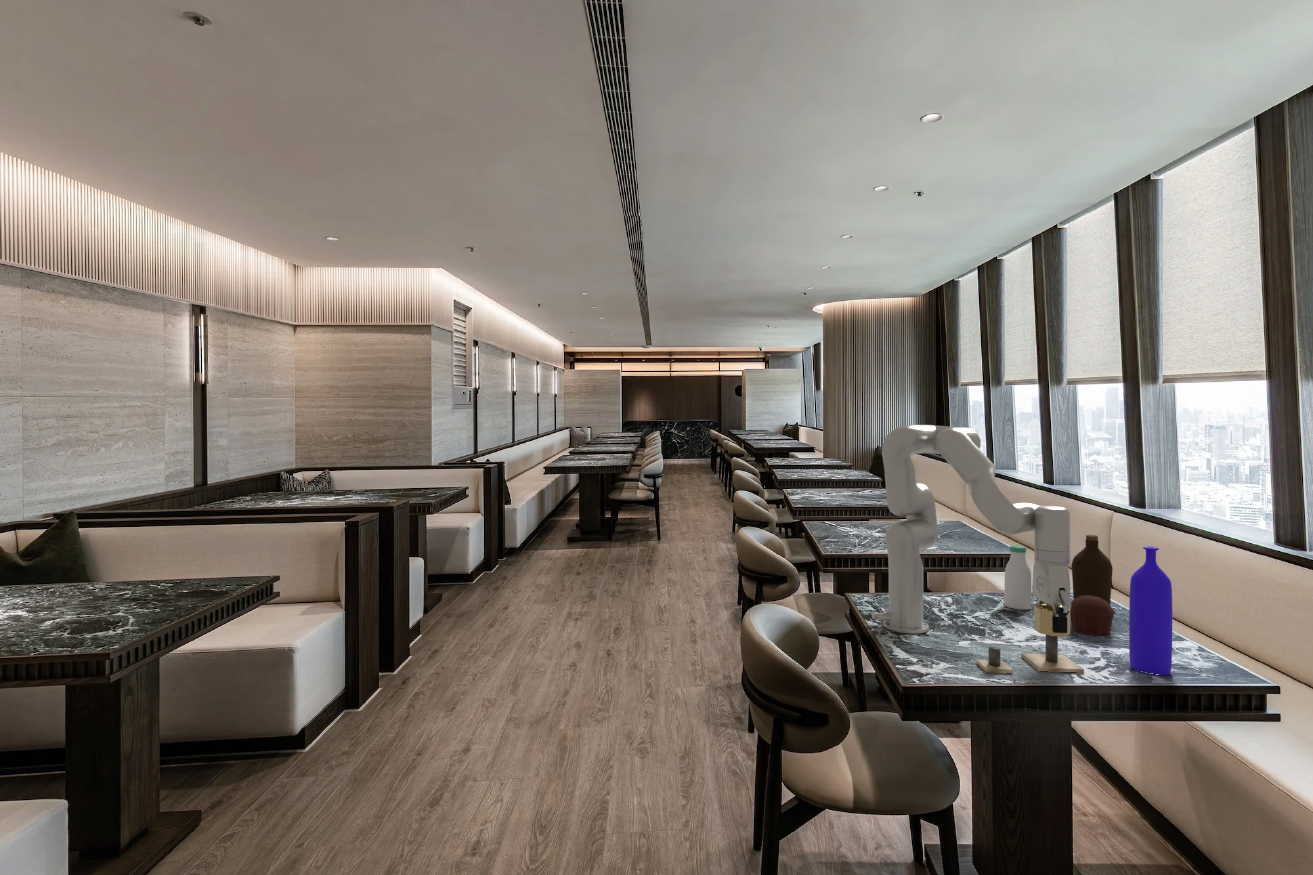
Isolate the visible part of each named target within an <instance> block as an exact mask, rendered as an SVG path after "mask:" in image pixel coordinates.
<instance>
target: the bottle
mask: <svg viewBox="0 0 1313 875" xmlns="http://www.w3.org/2000/svg"><path fill="white" fill-rule="evenodd" d="M1142 548H1143V550H1145V561H1144V563H1143V565H1142V566H1140V567H1139V568H1138V569H1137V570H1136V571H1134V572H1133V574H1132V575H1131V577H1130V584H1129V604H1128V605H1129V607H1128V608H1129V610H1128V612H1129V613H1128V615H1129V617H1128V618H1129V621H1128V623H1129V625H1128V626H1129V627H1128V630H1129V631H1128V639H1129V640H1128V646H1129V647H1128V648H1129V650H1128V651H1129V664H1130V665H1129V666H1130V667H1131V669H1132V668H1133V670H1134V669H1136V670H1138V671H1143V672H1147V673H1153V674H1159V675H1167V676H1169V675H1170V674H1171V672H1172V662H1173V661H1172V660H1173V588H1172V581H1171V579H1170V578H1169V577H1168V575H1167V574H1166V573H1165V572H1164V570H1162V568H1160V566H1159V565H1158V563H1157V551H1159V550H1160V548H1159V547H1157V546H1153V545H1151V546H1150V545H1145V546H1143V547H1142ZM1136 670H1135V671H1136ZM1138 671H1137V672H1138ZM1168 674H1169V675H1168Z"/></svg>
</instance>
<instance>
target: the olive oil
mask: <svg viewBox="0 0 1313 875" xmlns="http://www.w3.org/2000/svg"><path fill="white" fill-rule="evenodd" d="M1084 541H1085V547H1084V548H1083V549H1082V550H1080V551H1079V552H1078V553H1077V554H1076V555H1074V557H1073V558H1072V561H1071V576H1072V577H1071V578H1072V596H1073V597H1072V601H1073V600H1074V599H1075V598H1077V597H1080V596H1084V595H1091V596H1096V597H1099V598H1101V599H1103V600H1105V601H1106V602H1107V603H1109V605H1110V606H1111V598H1112V597H1111V596H1112V580H1113V569H1114V568H1113V564H1112V562H1111V560H1110V558H1109V557H1108V556H1107V555H1106V554H1105V553H1104V552H1103V551H1101V549H1100V548H1099V536H1098V535H1093V534H1086V535H1085V540H1084Z"/></svg>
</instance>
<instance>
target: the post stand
mask: <svg viewBox="0 0 1313 875" xmlns="http://www.w3.org/2000/svg"><path fill="white" fill-rule="evenodd" d="M1058 640H1059V636H1050V635H1046V634H1045V653H1026V652H1021V655H1020V656H1021V659H1023V660H1025V661H1026V662H1027V663H1028V664H1029V665H1031V666H1032V667H1033V668H1034V669H1035V670H1037V671H1038V672H1039V671H1048V672H1047V673H1059V672H1077V673H1076V674H1085V668H1083V667H1081V666H1080V665H1079V664H1078V663H1075V662H1074V661H1073V660H1071V659H1070V658H1068V657H1067V656H1066V655H1064V654H1058V653H1059V641H1058Z"/></svg>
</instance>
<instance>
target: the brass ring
mask: <svg viewBox="0 0 1313 875" xmlns="http://www.w3.org/2000/svg"><path fill="white" fill-rule="evenodd" d="M1059 608H1060V607H1057V609H1058V610H1059ZM1061 608H1062V607H1061ZM1033 610H1034V614H1033V615H1034V617H1033V618H1034V622H1033V623H1034V626H1033V627H1034V628H1033V629H1034V630H1035V631H1036V632H1037V633H1038V634H1043V635H1045V636H1046V635H1050V636H1058V637H1067V636H1069V635H1070V634H1071V617H1070V610H1069V613H1068V617H1067V633H1054V632H1053V631H1052V616H1054V612H1053V608H1052V605H1048V604H1038V605H1037V604H1036V605H1034V609H1033Z"/></svg>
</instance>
